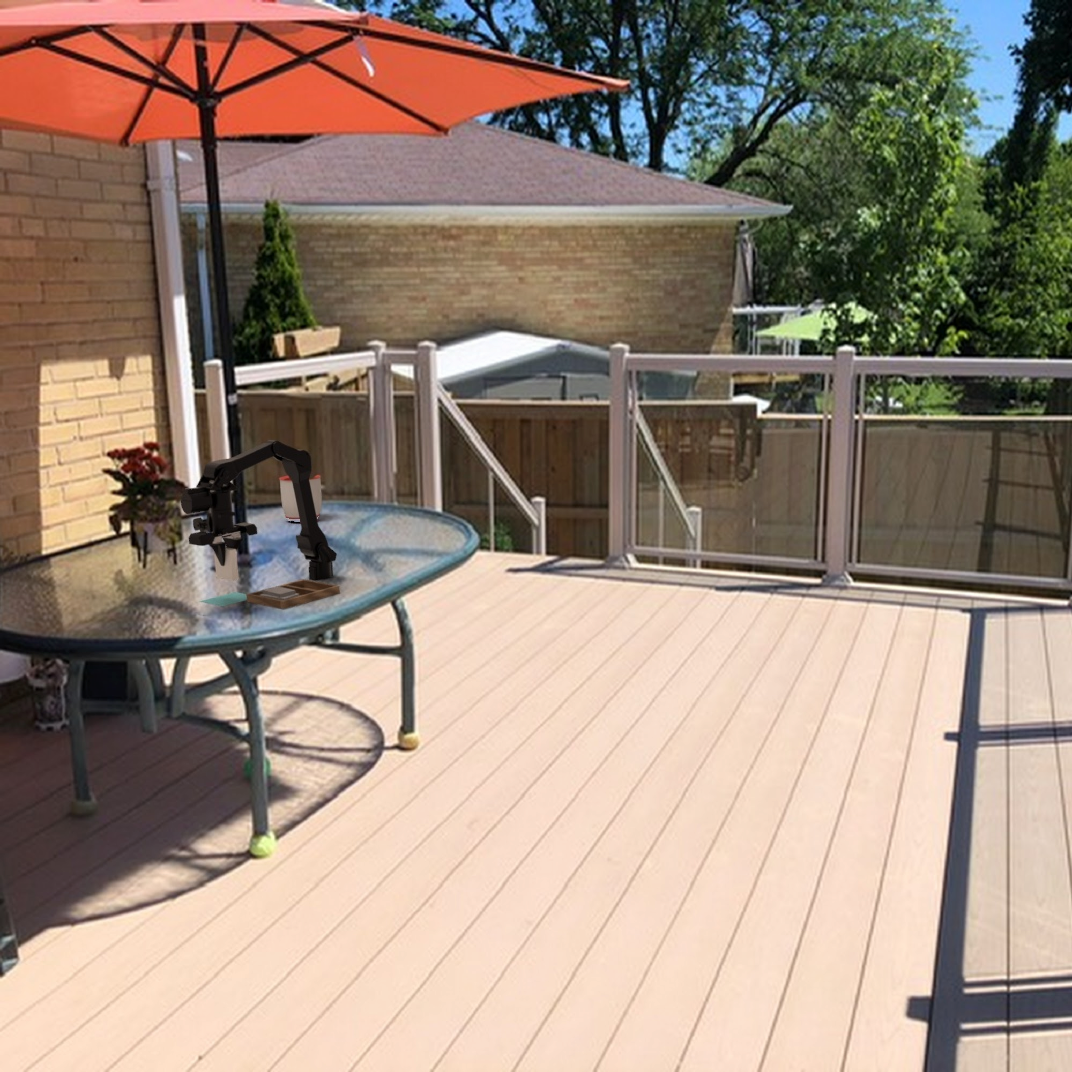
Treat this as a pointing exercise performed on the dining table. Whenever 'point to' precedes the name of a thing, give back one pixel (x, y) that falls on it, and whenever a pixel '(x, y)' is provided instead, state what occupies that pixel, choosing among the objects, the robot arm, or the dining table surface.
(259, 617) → the dining table surface
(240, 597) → the mat
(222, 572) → the beige rectangular block
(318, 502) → the citrus juicer
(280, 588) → the offcut stack
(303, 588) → the wooden divided tray
